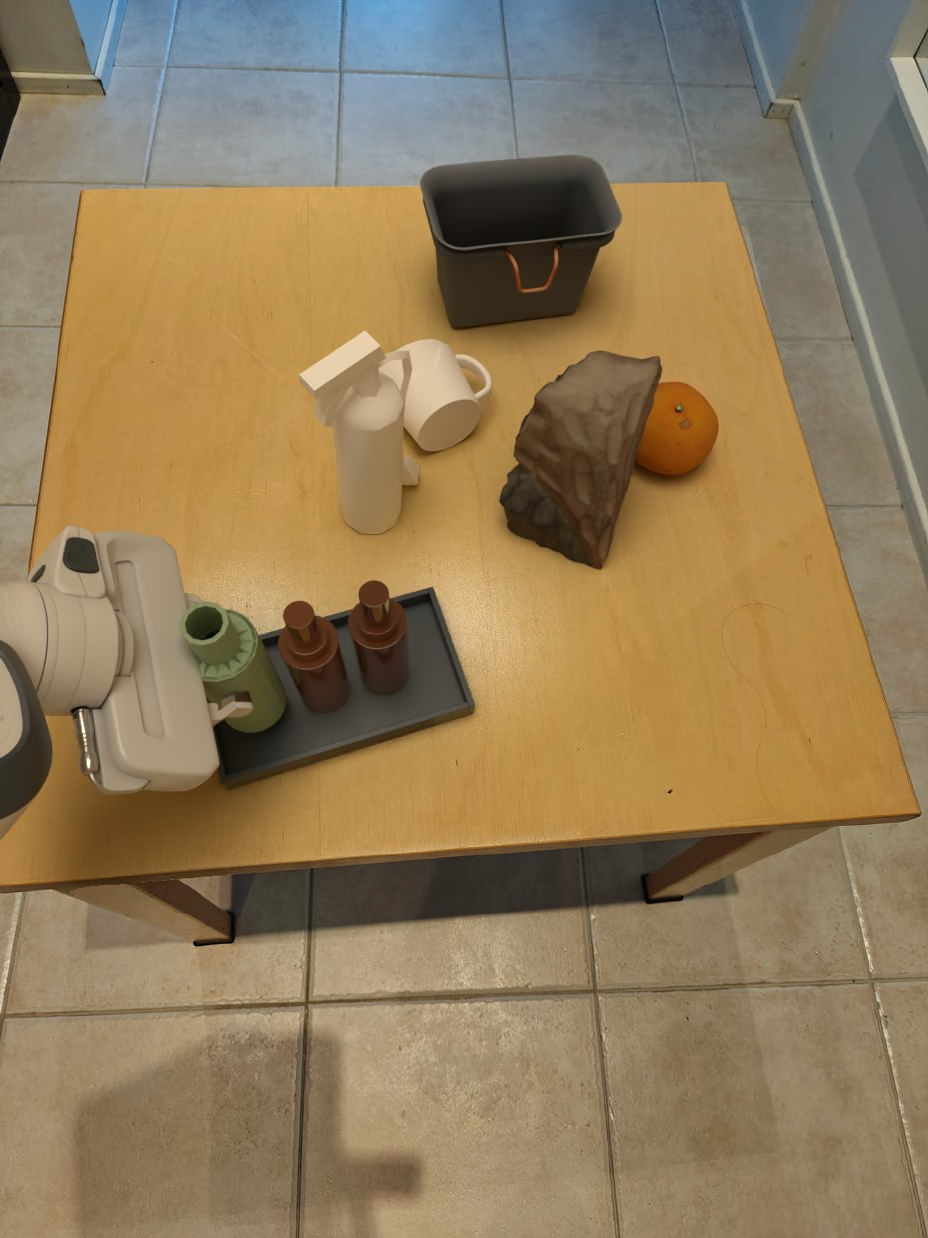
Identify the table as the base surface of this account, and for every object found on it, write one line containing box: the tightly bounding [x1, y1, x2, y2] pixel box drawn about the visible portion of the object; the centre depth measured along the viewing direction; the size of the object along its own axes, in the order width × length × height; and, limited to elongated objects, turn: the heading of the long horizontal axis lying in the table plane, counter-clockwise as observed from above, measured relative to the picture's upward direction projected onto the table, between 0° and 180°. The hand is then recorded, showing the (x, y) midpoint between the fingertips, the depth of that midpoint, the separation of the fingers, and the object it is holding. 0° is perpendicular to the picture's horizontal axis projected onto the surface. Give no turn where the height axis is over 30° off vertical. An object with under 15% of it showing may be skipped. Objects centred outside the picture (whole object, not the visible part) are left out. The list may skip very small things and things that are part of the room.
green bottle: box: [179, 600, 286, 733], centre depth 64 cm, size 6×6×18 cm
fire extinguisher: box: [298, 330, 421, 535], centre depth 75 cm, size 7×12×25 cm, turn 129°
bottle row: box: [278, 579, 410, 713], centre depth 69 cm, size 11×5×18 cm, turn 109°
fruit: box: [634, 381, 720, 475], centre depth 87 cm, size 10×10×8 cm
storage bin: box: [419, 154, 623, 328], centre depth 93 cm, size 21×16×14 cm
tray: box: [206, 586, 476, 791], centre depth 76 cm, size 24×13×3 cm, turn 109°
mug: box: [378, 338, 493, 452], centre depth 88 cm, size 12×9×8 cm
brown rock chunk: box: [498, 350, 663, 570], centre depth 78 cm, size 13×13×20 cm
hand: (238, 662), depth 64 cm, fingers closed on green bottle, 6 cm apart
